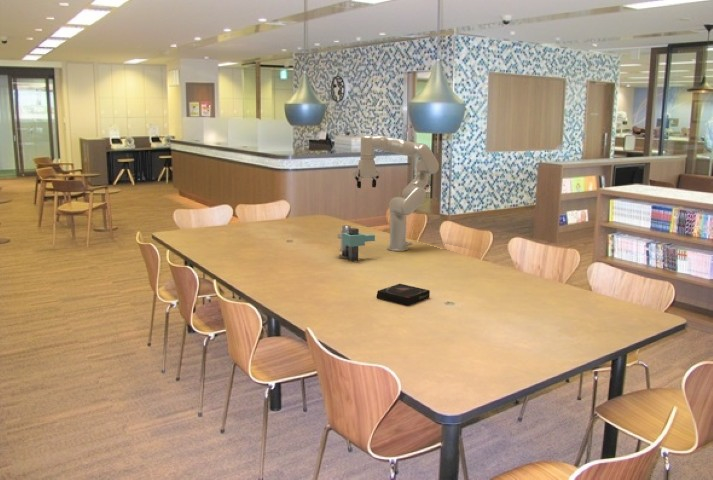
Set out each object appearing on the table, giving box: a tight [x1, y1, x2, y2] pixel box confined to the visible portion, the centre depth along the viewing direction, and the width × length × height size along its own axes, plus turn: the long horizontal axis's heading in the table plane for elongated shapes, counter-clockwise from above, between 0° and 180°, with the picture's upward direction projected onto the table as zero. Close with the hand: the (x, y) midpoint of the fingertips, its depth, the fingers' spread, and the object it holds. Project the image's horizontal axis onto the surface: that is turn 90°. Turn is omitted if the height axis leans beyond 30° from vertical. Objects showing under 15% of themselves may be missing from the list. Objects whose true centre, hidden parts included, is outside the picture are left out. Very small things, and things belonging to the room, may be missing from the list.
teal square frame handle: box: [342, 232, 376, 247], centre depth 346 cm, size 17×9×6 cm, turn 118°
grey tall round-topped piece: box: [337, 224, 352, 260], centre depth 352 cm, size 10×10×18 cm
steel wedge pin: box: [348, 227, 360, 262], centre depth 345 cm, size 4×4×18 cm
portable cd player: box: [376, 283, 431, 307], centre depth 276 cm, size 16×17×4 cm
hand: (366, 187), depth 360 cm, fingers open, 9 cm apart
